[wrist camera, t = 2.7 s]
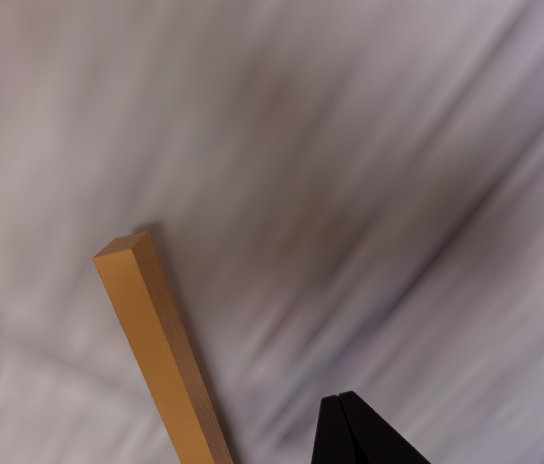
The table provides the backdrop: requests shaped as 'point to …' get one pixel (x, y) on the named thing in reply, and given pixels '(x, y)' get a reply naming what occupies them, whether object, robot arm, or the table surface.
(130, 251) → the orange bar
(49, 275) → the table surface
